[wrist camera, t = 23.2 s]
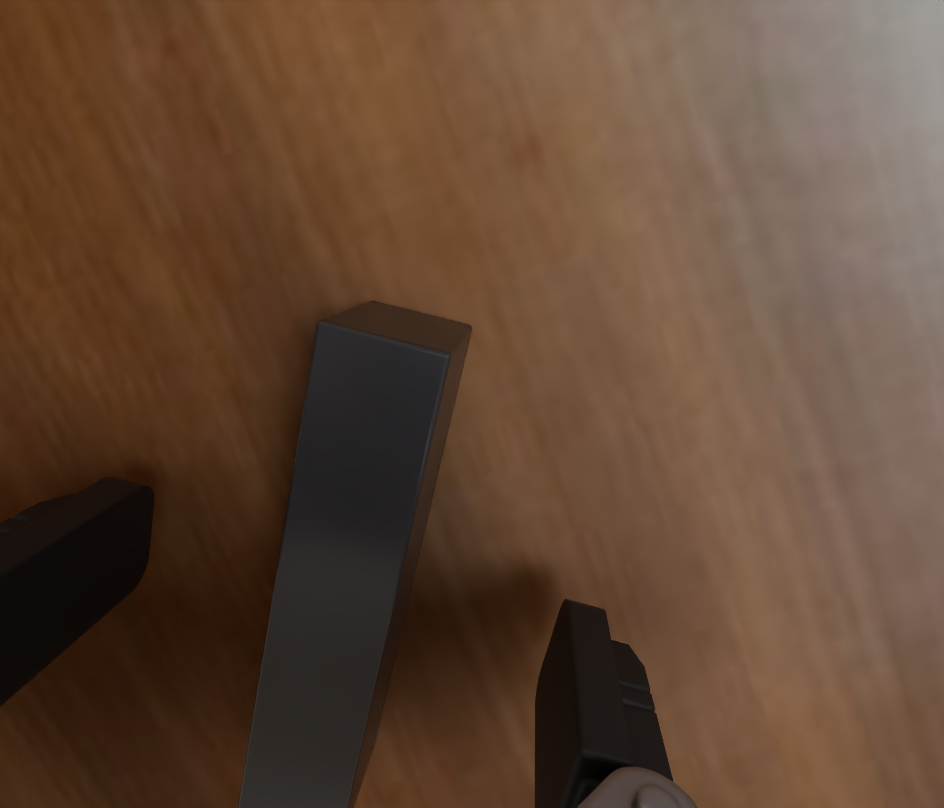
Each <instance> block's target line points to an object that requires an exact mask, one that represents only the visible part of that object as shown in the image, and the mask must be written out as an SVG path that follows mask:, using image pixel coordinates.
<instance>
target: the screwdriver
mask: <svg viewBox="0 0 944 808" xmlns="http://www.w3.org/2000/svg"><path fill="white" fill-rule="evenodd" d="M471 331H472V327H471V326H470V325H468V324H464V323H460V322H456V321H452V320H448V319H444V318H440V317H436V316H432V315H428V314H424V313H420V312H416V311H412V310H408V309H404V308H400V307H396V306H392V305H388V304H384V303H380V302H376V301H370V302H368V303H365V304H362V305H360V306H357V307H354V308H352V309H349V310H346V311H344V312H341V313H338V314H336V315H333V316H330V317H328V318H325V319H322V320H320V321H318V323H317V325H316V331H315V337H314V344H313V350H312V356H311V362H310V368H309V374H308V380H307V387H306V393H305V399H304V405H303V411H302V417H301V424H300V430H299V436H298V442H297V448H296V454H295V460H294V467H293V473H292V479H291V485H290V491H289V497H288V503H287V510H286V516H285V522H284V528H283V534H282V540H281V546H280V553H279V559H278V565H277V571H276V577H275V583H274V590H273V596H272V602H271V608H270V614H269V620H268V626H267V633H266V639H265V645H264V651H263V657H262V663H261V669H260V676H259V682H258V688H257V694H256V700H255V706H254V713H253V719H252V725H251V731H250V737H249V743H248V749H247V756H246V762H245V768H244V774H243V780H242V786H241V792H240V799H239V805H238V808H354V806H355V803H356V800H357V796H358V793H359V790H360V787H361V784H362V781H363V778H364V775H365V772H366V769H367V766H368V763H369V759H370V756H371V753H372V750H373V747H374V744H375V740H376V736H377V732H378V728H379V723H380V719H381V715H382V711H383V706H384V702H385V698H386V694H387V689H388V685H389V681H390V676H391V672H392V668H393V664H394V659H395V655H396V651H397V647H398V642H399V638H400V634H401V630H402V625H403V621H404V617H405V613H406V608H407V604H408V600H409V595H410V591H411V587H412V583H413V578H414V574H415V570H416V566H417V561H418V557H419V553H420V549H421V544H422V540H423V536H424V531H425V527H426V523H427V519H428V514H429V510H430V506H431V502H432V497H433V493H434V489H435V485H436V480H437V476H438V472H439V468H440V463H441V459H442V455H443V450H444V446H445V442H446V438H447V433H448V429H449V425H450V421H451V416H452V412H453V408H454V404H455V399H456V395H457V391H458V387H459V382H460V378H461V374H462V369H463V365H464V361H465V357H466V352H467V348H468V344H469V340H470V335H471Z"/></svg>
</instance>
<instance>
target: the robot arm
mask: <svg viewBox="0 0 944 808" xmlns="http://www.w3.org/2000/svg"><path fill="white" fill-rule="evenodd" d="M153 509H154V492H153V490H152V488H151V487H149V486H146V485H142V484H138V483H134V482H131V481H127V480H123V479H119V478H116V477H106V478H104V479H102V480H100V481H99V482H97V483H95V484H93V485H91V486H90V487H88V488H86V489H84V490H82V491H81V492H79V493H77V494H69V495H65V496H62V497H58V498H54V499H51V500H47V501H43V502H40V503H38V504H36V505H34V506H32V507H30V508H29V509H27V510H25V511H23V512H21V513H19V514H17V515H15V518H14V519H11V518H10V519H8V520H6V521H4V522H2V523H0V706H1V705H3V704H4V703H5V702H6V701H7V700H8V699H9V698H11V697H12V696H13V695H14V694H15V693H16V692H17V691H19V690H20V689H21V688H22V687H23V686H24V685H25V684H27V683H28V682H29V681H30V680H31V679H32V678H33V677H35V676H36V675H37V674H38V673H39V672H40V671H41V670H43V669H44V668H45V667H46V666H47V665H48V664H50V663H51V662H52V661H53V660H54V659H55V658H56V657H58V656H59V655H60V654H61V653H62V652H63V651H64V650H66V649H67V648H68V647H69V646H70V645H71V644H72V643H74V642H75V641H76V640H77V639H78V638H79V637H80V636H82V635H83V634H84V633H85V632H86V631H87V630H88V629H90V628H91V627H92V626H93V625H94V624H95V623H96V622H98V621H99V620H100V619H101V618H102V617H103V616H105V615H106V614H107V613H108V612H109V611H110V610H111V609H113V608H114V607H115V606H116V605H117V604H118V603H119V602H121V601H122V600H123V599H124V598H125V597H126V596H127V595H129V594H130V593H131V592H132V591H133V590H134V589H135V587H136V586H137V585H138V583H139V582H140V580H141V578H142V576H143V574H144V572H145V570H146V567H147V563H148V558H149V549H150V539H151V529H152V519H153ZM654 710H655V707H654V703H653V699H652V695H651V694H650V687H649V683H648V679H647V675H646V671H645V667H644V666H643V664H642V663H641V661H640V660H639V659H638V657H637V656H636V654H635V653H634V652H633V650H632V649H631V648H630V646H629V645H628V644H624V643H621V642H617V641H613V640H611V637H610V632H609V626H608V621H607V615H606V611H605V610H604V609H601V608H597V607H594V606H590V605H586V604H582V603H579V602H575V601H571V600H567V599H565V600H564V601H563V603H562V605H561V608H560V611H559V614H558V617H557V620H556V623H555V626H554V630H553V633H552V636H551V639H550V642H549V645H548V648H547V651H546V654H545V658H544V661H543V664H542V667H541V671H540V675H539V679H538V684H537V691H536V699H535V808H698V807H697V805H696V804H695V803H694V801H693V800H692V799H691V798H690V797H689V796H688V795H687V793H686V792H685V791H683V790H682V789H681V788H680V787H679V786H678V785H676V784H675V783H674V782H673V778H672V775H671V771H670V767H669V763H668V759H667V755H666V751H665V747H664V743H663V739H662V735H661V731H660V727H659V723H658V719H657V715H656V713H654Z"/></svg>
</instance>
